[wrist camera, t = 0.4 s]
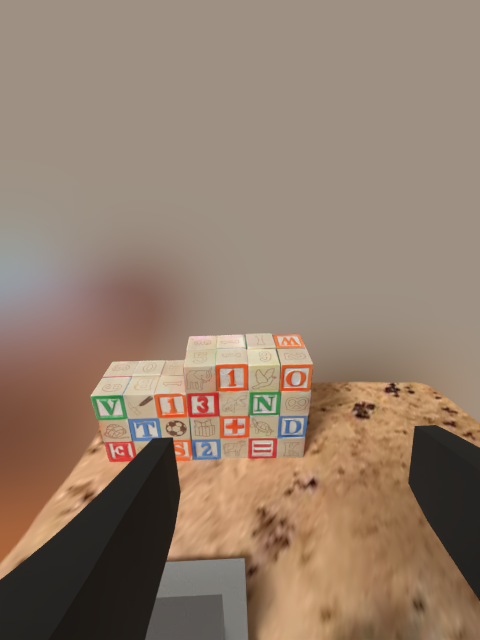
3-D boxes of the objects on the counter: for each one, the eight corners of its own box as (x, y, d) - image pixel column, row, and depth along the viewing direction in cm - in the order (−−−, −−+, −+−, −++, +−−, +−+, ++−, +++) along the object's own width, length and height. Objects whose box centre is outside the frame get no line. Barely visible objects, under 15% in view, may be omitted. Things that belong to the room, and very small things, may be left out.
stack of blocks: (107, 465, 32) (80, 369, 27) (126, 422, 38) (106, 336, 33) (305, 458, 33) (315, 362, 27) (293, 417, 38) (300, 331, 33)
